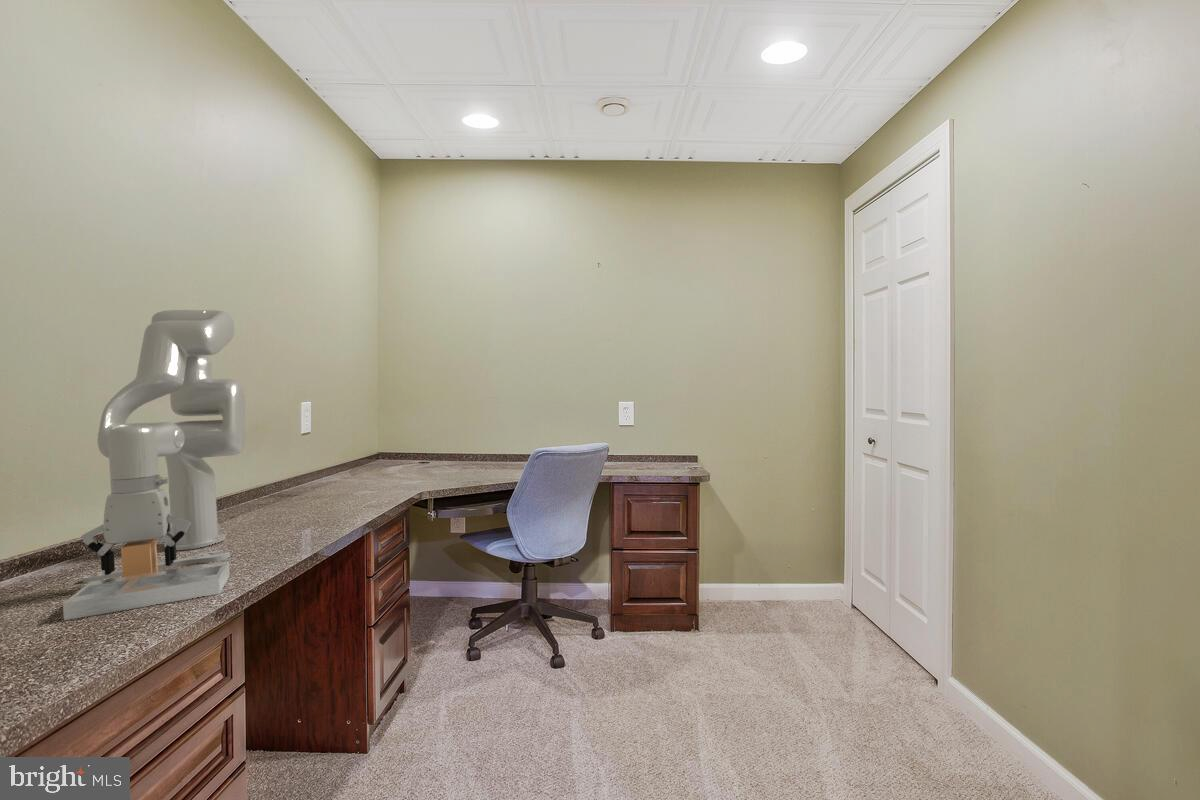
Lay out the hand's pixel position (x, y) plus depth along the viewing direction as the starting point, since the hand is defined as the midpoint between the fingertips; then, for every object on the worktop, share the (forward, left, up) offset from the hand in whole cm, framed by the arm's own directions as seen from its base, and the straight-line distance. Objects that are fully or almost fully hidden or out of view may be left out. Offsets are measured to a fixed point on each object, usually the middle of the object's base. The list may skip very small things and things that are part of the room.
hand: (140, 568), depth 111 cm
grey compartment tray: (+12, +5, -3) cm, 13 cm away
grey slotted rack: (-9, +1, -3) cm, 10 cm away
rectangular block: (0, 0, -3) cm, 3 cm away
